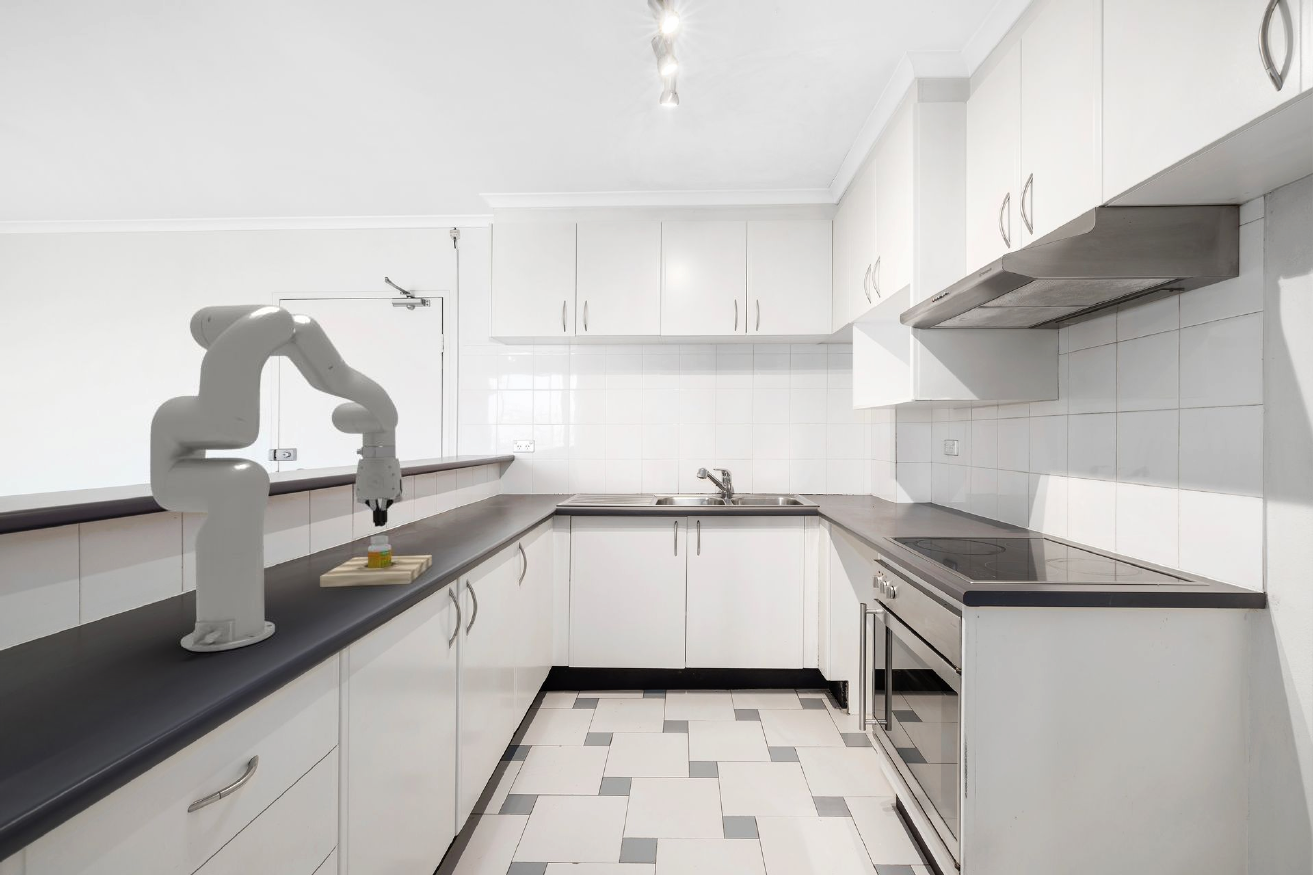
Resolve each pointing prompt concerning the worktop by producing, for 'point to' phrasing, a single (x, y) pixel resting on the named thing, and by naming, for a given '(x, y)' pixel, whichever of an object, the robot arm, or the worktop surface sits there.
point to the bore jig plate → (376, 572)
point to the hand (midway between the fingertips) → (380, 525)
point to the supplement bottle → (379, 552)
